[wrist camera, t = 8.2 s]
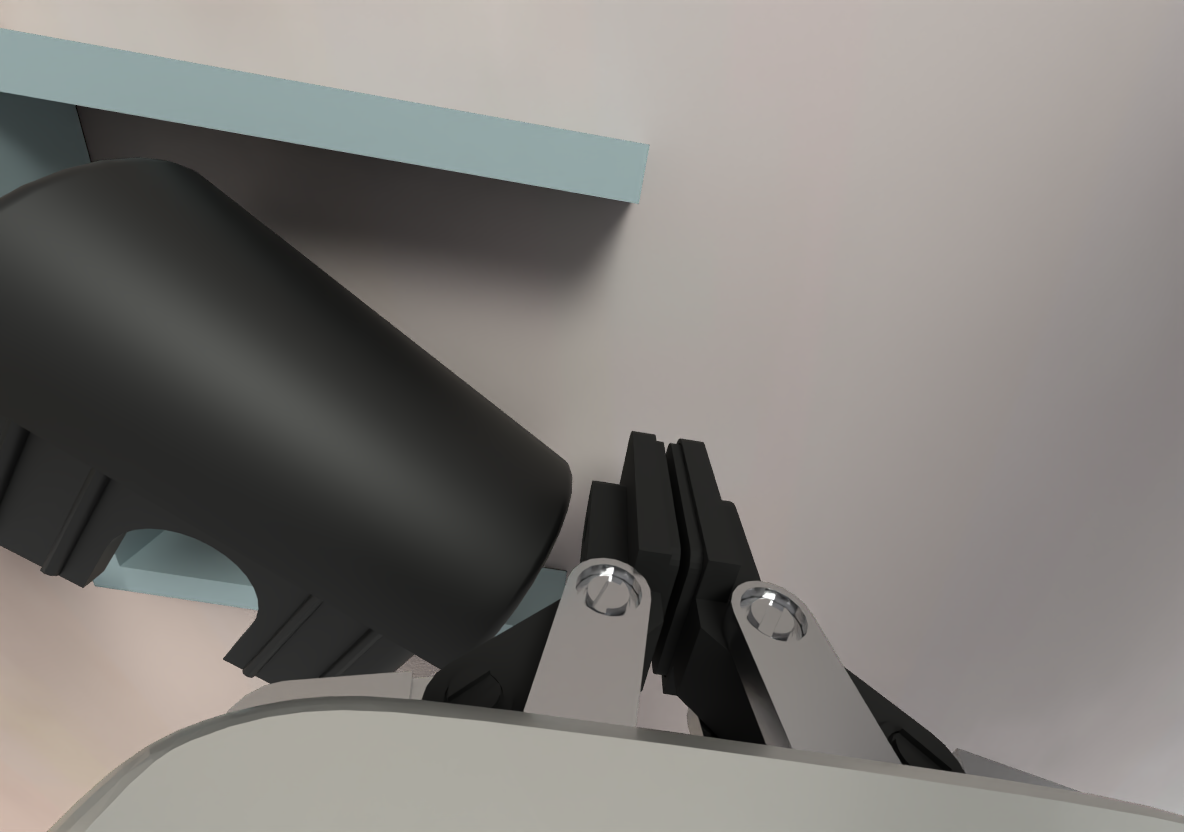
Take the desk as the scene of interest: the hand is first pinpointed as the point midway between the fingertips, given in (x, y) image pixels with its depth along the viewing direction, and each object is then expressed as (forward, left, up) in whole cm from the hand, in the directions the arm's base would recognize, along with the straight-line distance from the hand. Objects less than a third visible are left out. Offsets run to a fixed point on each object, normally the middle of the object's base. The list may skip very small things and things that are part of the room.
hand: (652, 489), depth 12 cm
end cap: (0, -8, -3) cm, 9 cm away
